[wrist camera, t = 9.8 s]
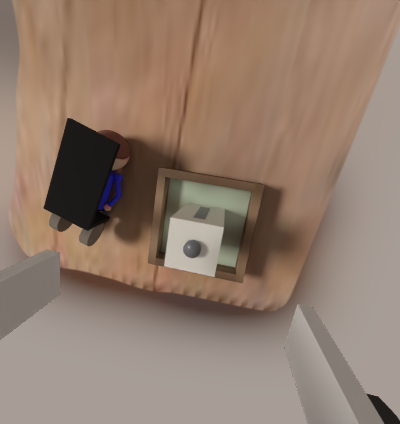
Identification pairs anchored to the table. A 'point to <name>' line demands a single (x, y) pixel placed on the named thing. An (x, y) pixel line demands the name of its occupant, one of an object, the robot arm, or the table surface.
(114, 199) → the figurine character
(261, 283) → the table surface
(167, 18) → the table surface
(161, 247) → the brown wooden square tray
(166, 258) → the strip block
